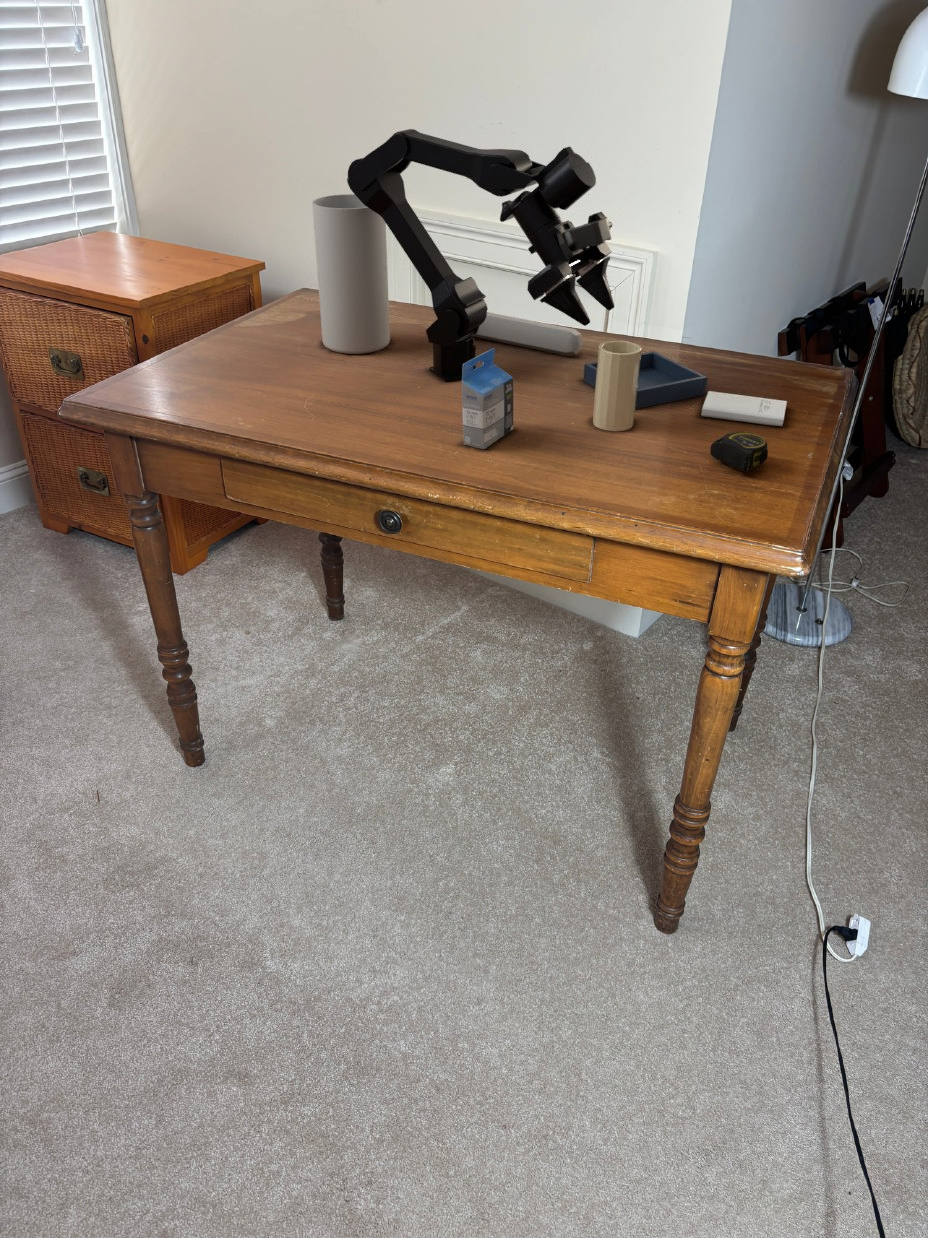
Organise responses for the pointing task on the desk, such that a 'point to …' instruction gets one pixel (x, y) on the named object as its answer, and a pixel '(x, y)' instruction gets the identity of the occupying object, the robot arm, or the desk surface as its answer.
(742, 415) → the hard drive
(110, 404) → the desk surface
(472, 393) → the label tape box
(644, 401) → the tray
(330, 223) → the cylinder vase
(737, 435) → the tape measure
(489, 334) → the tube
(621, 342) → the pencil cup
